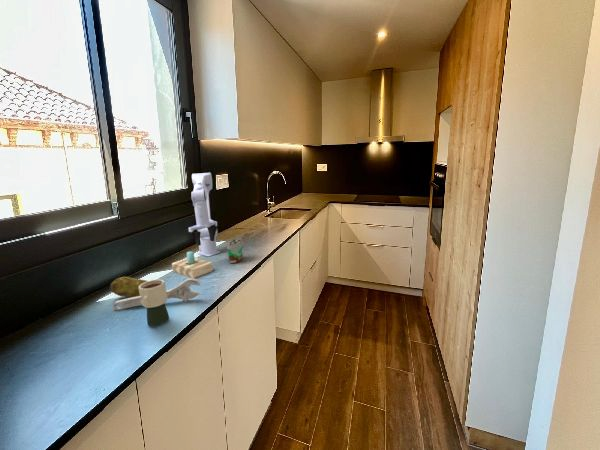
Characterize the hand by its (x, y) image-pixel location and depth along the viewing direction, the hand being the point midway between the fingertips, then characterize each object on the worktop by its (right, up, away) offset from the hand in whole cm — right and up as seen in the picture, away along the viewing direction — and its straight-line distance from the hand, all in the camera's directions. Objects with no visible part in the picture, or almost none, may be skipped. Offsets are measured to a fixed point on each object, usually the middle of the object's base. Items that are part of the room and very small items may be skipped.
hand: (205, 243), depth 137 cm
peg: (-4, -12, -7) cm, 15 cm away
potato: (-18, -19, -28) cm, 39 cm away
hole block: (-4, -12, -7) cm, 15 cm away
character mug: (+1, -22, -48) cm, 52 cm away
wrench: (-5, -20, -36) cm, 41 cm away
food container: (+15, -9, +4) cm, 18 cm away
